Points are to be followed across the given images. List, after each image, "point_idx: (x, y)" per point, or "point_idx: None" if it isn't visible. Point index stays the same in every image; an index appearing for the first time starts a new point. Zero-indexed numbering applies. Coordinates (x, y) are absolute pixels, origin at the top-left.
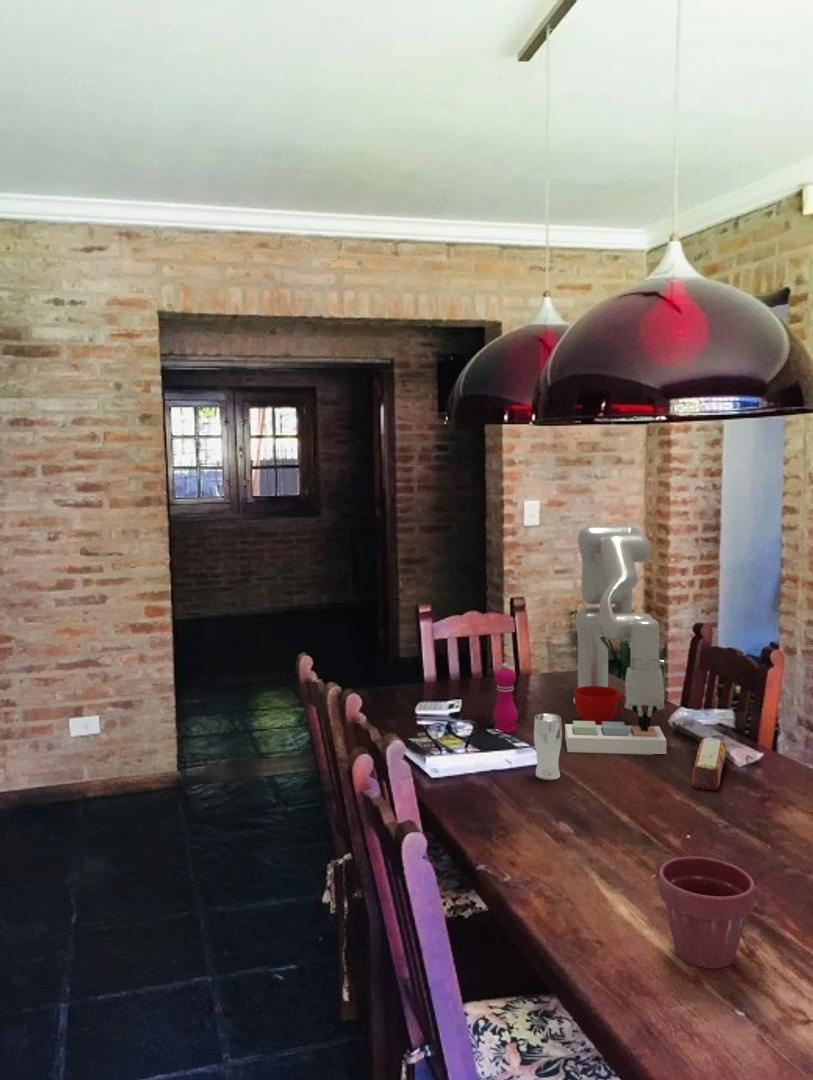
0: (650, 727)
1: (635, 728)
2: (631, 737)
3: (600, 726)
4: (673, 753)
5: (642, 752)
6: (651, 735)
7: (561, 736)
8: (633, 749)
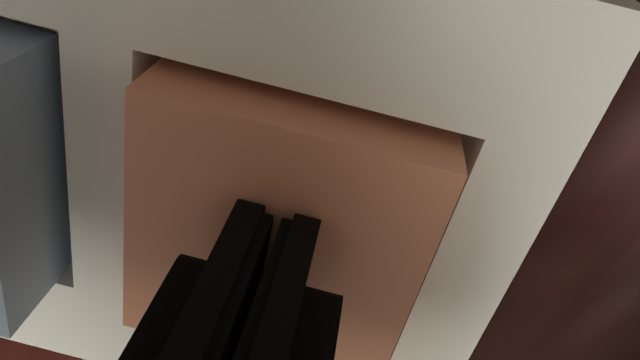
0: (393, 215)
1: (164, 211)
2: (105, 325)
3: None
4: (495, 321)
5: None
6: None
7: None
8: None
